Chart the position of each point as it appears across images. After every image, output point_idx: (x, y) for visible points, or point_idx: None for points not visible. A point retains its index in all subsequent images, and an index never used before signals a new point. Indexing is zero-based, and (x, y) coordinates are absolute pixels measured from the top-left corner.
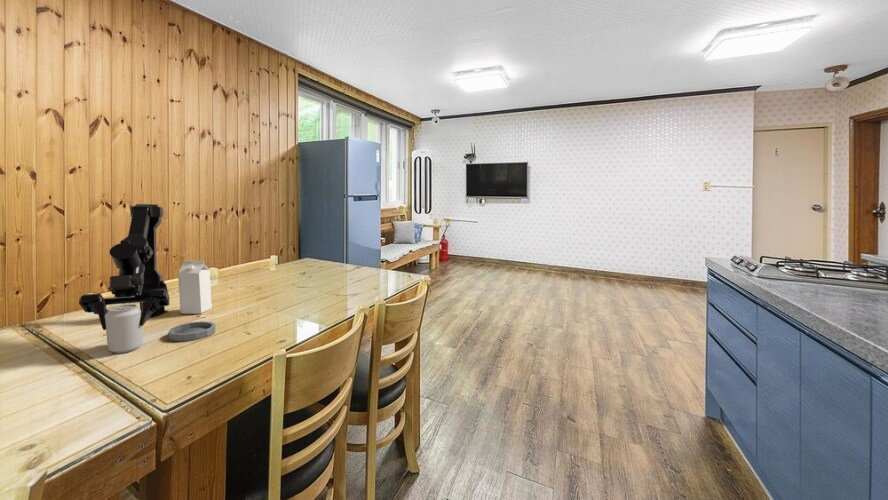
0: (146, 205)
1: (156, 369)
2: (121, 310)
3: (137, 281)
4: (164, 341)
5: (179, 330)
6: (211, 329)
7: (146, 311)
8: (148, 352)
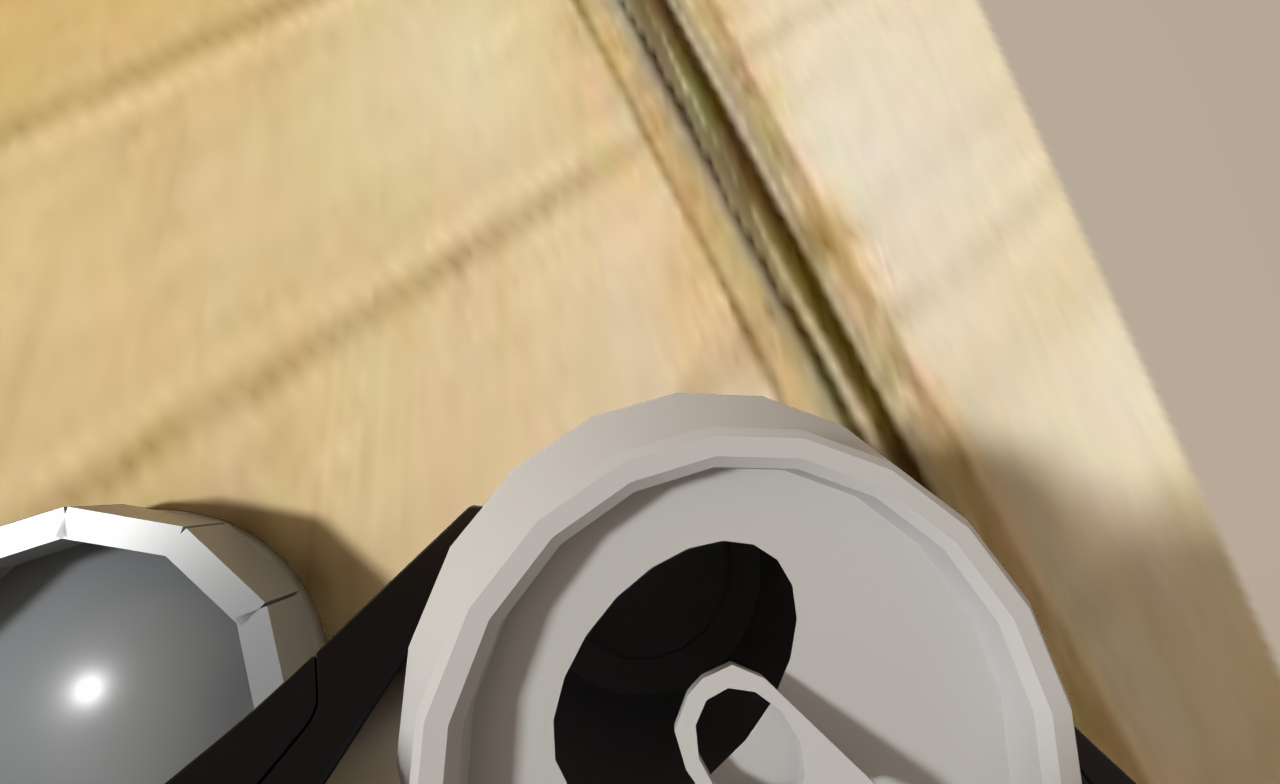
0: None
1: (452, 59)
2: (745, 430)
3: None
4: None
5: None
6: None
7: (306, 680)
8: (495, 387)
